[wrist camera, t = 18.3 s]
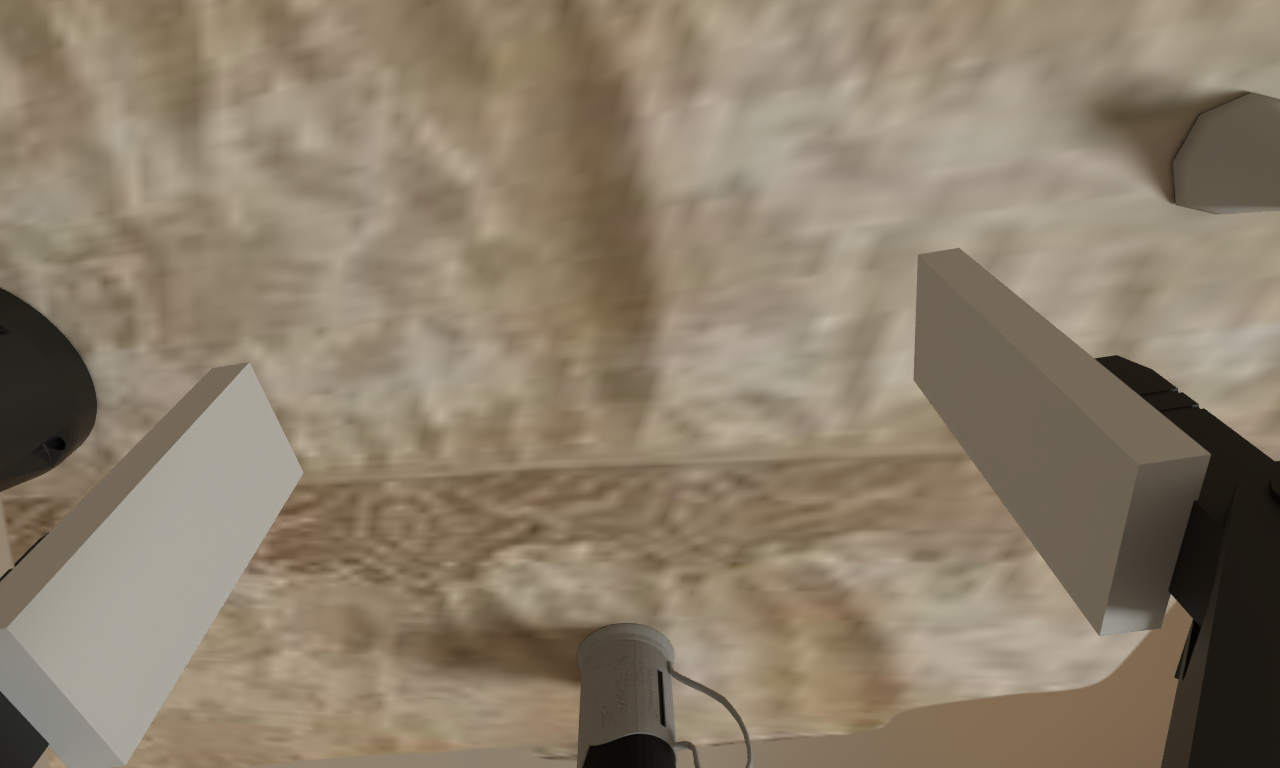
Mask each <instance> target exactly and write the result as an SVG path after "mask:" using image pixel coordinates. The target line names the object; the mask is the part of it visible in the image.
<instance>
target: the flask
mask: <svg viewBox="0 0 1280 768" xmlns="http://www.w3.org/2000/svg"><path fill="white" fill-rule="evenodd" d="M1173 174H1174V187H1175V199H1176V205H1178V206H1182V207H1187V208H1191V209H1195V210H1200V211H1204V212H1209V213H1213V214H1233V213H1247V212H1261V211H1280V100H1279V99H1275V98H1271V97H1267V96H1263V95H1259V94H1255V93H1250V94H1247V95H1245V96H1242V97H1240V98H1238V99H1235V100H1233V101H1231V102H1228V103H1226V104H1223V105H1221V106H1219V107H1216V108H1214V109H1212V110H1209V111H1207V112H1205V113H1202V114H1200V115H1199V117H1198V119H1197V121H1196V122H1195V124H1194V126H1193V128H1192V129H1191V131H1190V133H1189V135H1188V137H1187V138H1186V140H1185V142H1184V144H1183V145H1182V147H1181V149H1180V151H1179V152H1178V154H1177V156H1176V158H1175V159H1174V161H1173Z"/></svg>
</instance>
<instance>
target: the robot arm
mask: <svg viewBox="0 0 1280 768" xmlns="http://www.w3.org/2000/svg"><path fill="white" fill-rule="evenodd" d="M914 381H915V382H916V384H917V385H918V387H919V388H920V389H921V391H922V392H923V393H924V395H925V396H926V398H927V399H928V400H929V402H930V403H931V404H932V406H933V407H934V409H935V410H936V411H937V413H938V414H939V415H940V417H941V418H942V420H943V421H944V422H945V424H946V425H947V427H948V428H949V429H950V431H951V432H952V433H953V435H954V436H955V438H956V439H957V440H958V442H959V443H960V444H961V446H962V447H963V449H964V450H965V451H966V453H967V454H968V456H969V457H970V458H971V460H972V461H973V462H974V464H975V465H976V467H977V468H978V469H979V471H980V472H981V473H982V475H983V476H984V478H985V479H986V480H987V482H988V483H989V484H990V486H991V487H992V489H993V490H994V491H995V493H996V494H997V496H998V497H999V498H1000V500H1001V501H1002V502H1003V504H1004V505H1005V507H1006V508H1007V509H1008V511H1009V512H1010V513H1011V515H1012V516H1013V518H1014V519H1015V520H1016V522H1017V523H1018V525H1019V526H1020V527H1021V529H1022V530H1023V531H1024V533H1025V534H1026V536H1027V537H1028V538H1029V540H1030V541H1031V542H1032V544H1033V545H1034V547H1035V548H1036V549H1037V551H1038V552H1039V553H1040V555H1041V556H1042V558H1043V559H1044V560H1045V562H1046V563H1047V565H1048V566H1049V567H1050V569H1051V570H1052V571H1053V573H1054V574H1055V576H1056V577H1057V578H1058V580H1059V581H1060V582H1061V584H1062V585H1063V587H1064V588H1065V589H1066V591H1067V592H1068V593H1069V595H1070V596H1071V598H1072V599H1073V600H1074V602H1075V603H1076V605H1077V606H1078V607H1079V609H1080V610H1081V611H1082V613H1083V614H1084V616H1085V617H1086V618H1087V620H1088V621H1089V622H1090V624H1091V625H1092V627H1093V628H1094V629H1095V631H1096V632H1097V634H1098V635H1099V636H1105V635H1113V634H1120V633H1128V632H1135V631H1143V630H1151V629H1158V628H1161V625H1162V622H1163V618H1164V615H1165V612H1166V608H1167V605H1168V601H1169V598H1170V594H1172V595H1173V597H1174V598H1175V599H1176V600H1177V601H1178V602H1179V603H1180V604H1181V606H1182V607H1183V608H1184V609H1185V610H1186V611H1187V612H1188V613H1189V615H1190V616H1191V617H1192V618H1193V620H1192V624H1191V627H1190V630H1189V633H1188V636H1187V640H1186V642H1185V646H1184V649H1183V652H1182V655H1181V658H1180V661H1179V664H1178V668H1177V670H1176V674H1175V678H1177V679H1179V681H1178V686H1177V690H1176V695H1175V700H1174V705H1173V710H1172V715H1171V720H1170V725H1169V730H1168V735H1167V740H1166V745H1165V750H1164V755H1163V760H1162V765H1161V768H1280V461H1274V460H1272V459H1271V458H1270V457H1268V456H1267V455H1266V454H1264V453H1263V452H1262V451H1260V450H1259V449H1258V448H1256V447H1255V446H1254V445H1252V444H1251V443H1250V442H1248V441H1247V440H1246V439H1244V438H1243V437H1242V436H1240V435H1239V434H1238V433H1236V432H1235V431H1234V430H1232V429H1231V428H1230V427H1228V426H1227V425H1226V424H1224V423H1223V422H1222V421H1220V420H1219V419H1218V418H1216V417H1215V416H1214V415H1212V414H1211V413H1210V412H1208V411H1207V410H1206V409H1200V408H1199V404H1198V403H1196V402H1195V401H1194V400H1192V399H1191V398H1190V397H1188V396H1187V395H1186V394H1184V393H1183V392H1182V393H1178V388H1176V387H1175V386H1174V385H1172V384H1171V383H1170V382H1168V381H1167V380H1166V379H1164V378H1163V377H1162V376H1160V375H1159V374H1158V373H1156V372H1155V371H1154V370H1152V369H1150V368H1147V367H1145V366H1142V365H1140V364H1137V363H1135V362H1132V361H1130V360H1127V359H1125V358H1122V357H1120V356H1117V355H1115V356H1108V357H1102V358H1095V359H1094V358H1093V357H1092V356H1090V355H1089V354H1088V353H1087V352H1086V351H1084V350H1083V349H1082V348H1081V347H1079V346H1078V345H1077V344H1076V343H1075V342H1073V341H1072V340H1071V339H1070V338H1068V337H1067V336H1066V335H1065V334H1064V333H1062V332H1061V331H1060V330H1059V329H1057V328H1056V327H1055V326H1054V325H1053V324H1051V323H1050V322H1049V321H1048V320H1046V319H1045V318H1044V317H1043V316H1042V315H1040V314H1039V313H1038V312H1037V311H1035V310H1034V309H1033V308H1032V307H1031V306H1029V305H1028V304H1027V303H1026V302H1024V301H1023V300H1022V299H1021V298H1020V297H1018V296H1017V295H1016V294H1015V293H1013V292H1012V291H1011V290H1010V289H1009V288H1007V287H1006V286H1005V285H1004V284H1002V283H1001V282H1000V281H999V280H998V279H996V278H995V277H994V276H993V275H991V274H990V273H989V272H988V271H987V270H985V269H984V268H983V267H982V266H980V265H979V264H978V263H977V262H976V261H974V260H973V259H972V258H971V257H969V256H968V255H967V254H966V253H965V252H963V251H962V250H961V249H960V248H956V249H950V250H943V251H937V252H931V253H925V254H919V255H918V269H917V298H916V327H915V356H914ZM96 412H97V400H96V393H95V388H94V385H93V381H92V379H91V376H90V374H89V371H88V369H87V367H86V365H85V363H84V362H83V360H82V358H81V357H80V355H79V354H78V352H77V351H76V349H75V348H74V347H73V345H72V344H71V343H70V342H69V340H68V339H67V338H66V337H65V336H64V335H63V334H62V333H61V332H60V331H59V329H58V328H56V327H55V326H54V325H53V324H52V323H51V322H50V321H49V320H48V319H46V318H45V317H44V316H43V315H42V314H40V313H39V312H38V311H36V310H35V309H34V308H32V307H31V306H29V305H28V304H27V303H25V302H23V301H22V300H20V299H19V298H17V297H15V296H13V295H12V294H10V293H8V292H6V291H4V290H2V289H0V492H1V491H4V490H6V489H9V488H11V487H13V486H16V485H18V484H21V483H23V482H26V481H28V480H31V479H33V478H36V477H38V476H40V475H43V474H45V473H46V472H48V471H50V470H52V469H53V468H55V467H56V466H58V465H59V464H60V463H61V462H63V461H64V460H65V459H66V458H67V457H68V456H69V455H70V454H72V453H73V452H74V451H75V450H76V449H77V448H78V447H79V446H81V445H82V443H83V442H84V441H85V440H86V439H87V437H88V436H89V434H90V432H91V430H92V428H93V426H94V423H95V419H96ZM302 475H303V471H302V469H301V467H300V465H299V463H298V461H297V459H296V456H295V454H294V452H293V450H292V448H291V446H290V444H289V442H288V440H287V438H286V436H285V434H284V432H283V430H282V428H281V426H280V424H279V422H278V420H277V418H276V416H275V414H274V412H273V410H272V408H271V406H270V404H269V402H268V400H267V397H266V395H265V393H264V391H263V389H262V387H261V385H260V383H259V381H258V379H257V377H256V375H255V373H254V371H253V369H252V367H251V365H250V363H249V362H248V363H242V364H236V365H230V366H224V367H217V368H212V369H211V370H210V371H209V372H208V373H207V374H206V375H205V376H204V377H203V378H202V379H201V380H200V381H199V382H198V383H197V384H196V385H195V386H194V387H193V388H192V389H191V390H190V391H189V392H188V393H187V394H186V395H185V396H184V397H183V398H182V399H181V400H180V401H179V402H178V403H177V404H176V405H175V406H174V407H173V408H172V409H171V410H170V411H169V412H168V413H167V414H166V415H165V416H164V417H163V418H162V419H161V420H160V421H159V422H158V423H157V424H156V425H155V427H154V428H153V429H152V430H151V431H150V432H149V433H148V434H147V435H146V436H145V437H144V438H143V439H142V440H141V441H140V442H139V443H138V444H137V445H136V446H135V447H134V448H133V449H132V450H131V451H130V452H129V453H128V454H127V455H126V456H125V457H124V458H123V459H122V460H121V461H120V462H119V463H118V464H117V465H116V466H115V467H114V468H113V469H112V470H111V471H110V472H109V473H108V474H107V475H106V476H105V477H104V478H103V479H102V480H101V481H100V482H99V483H98V484H97V485H96V486H95V487H94V488H93V489H92V490H91V491H90V492H89V493H88V494H87V495H86V496H85V497H84V498H83V499H82V500H81V501H80V502H79V503H78V504H77V505H76V506H75V507H74V508H73V509H72V510H71V511H70V512H69V513H68V514H67V515H66V516H65V517H64V518H63V519H62V520H61V521H60V522H59V523H58V524H57V525H56V526H55V527H54V528H53V529H52V530H51V531H50V532H49V533H47V534H46V535H45V536H43V537H42V538H40V539H39V540H38V541H37V542H36V543H35V544H34V545H33V546H32V547H31V548H30V549H29V550H28V551H27V552H26V553H25V554H24V555H23V556H22V557H21V558H20V559H19V560H18V561H17V562H16V563H15V564H14V565H15V568H14V569H9V570H8V571H7V572H6V573H5V574H4V575H3V576H2V577H1V578H0V768H32V767H33V766H34V765H35V763H36V762H37V760H38V759H39V758H40V756H41V755H42V754H43V752H44V751H45V749H46V748H47V747H49V748H50V749H51V750H52V751H53V752H54V753H55V754H56V755H57V756H58V757H59V758H60V759H61V760H62V762H63V763H64V764H65V765H66V766H67V767H68V768H111V767H118V766H126V764H127V762H128V761H129V759H130V757H131V756H132V754H133V752H134V751H135V749H136V748H137V746H138V744H139V743H140V741H141V739H142V738H143V736H144V734H145V733H146V731H147V729H148V728H149V726H150V725H151V723H152V721H153V720H154V718H155V716H156V715H157V713H158V711H159V710H160V708H161V706H162V705H163V703H164V701H165V700H166V698H167V697H168V695H169V693H170V692H171V690H172V688H173V687H174V685H175V683H176V682H177V680H178V678H179V677H180V675H181V674H182V672H183V670H184V669H185V667H186V665H187V664H188V662H189V660H190V659H191V657H192V655H193V654H194V652H195V651H196V649H197V647H198V646H199V644H200V642H201V641H202V639H203V637H204V636H205V634H206V632H207V631H208V629H209V627H210V626H211V624H212V623H213V621H214V619H215V618H216V616H217V614H218V613H219V611H220V609H221V608H222V606H223V604H224V603H225V601H226V600H227V598H228V596H229V595H230V593H231V591H232V590H233V588H234V586H235V585H236V583H237V581H238V580H239V578H240V577H241V575H242V573H243V572H244V570H245V568H246V567H247V565H248V563H249V562H250V560H251V558H252V557H253V555H254V553H255V552H256V550H257V549H258V547H259V545H260V544H261V542H262V540H263V539H264V537H265V535H266V534H267V532H268V530H269V529H270V527H271V526H272V524H273V522H274V521H275V519H276V517H277V516H278V514H279V512H280V511H281V509H282V507H283V506H284V504H285V503H286V501H287V499H288V498H289V496H290V494H291V493H292V491H293V489H294V488H295V486H296V484H297V483H298V481H299V479H300V478H301V476H302Z"/></svg>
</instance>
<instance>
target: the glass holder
mask: <svg viewBox="0 0 1280 768" xmlns="http://www.w3.org/2000/svg"><path fill="white" fill-rule="evenodd" d="M577 661H578V666H579V668H580V670H581V693H580V714H579V735H578V755H577V768H676V765H677V751H678V750H682V749H691V750H692V751H693V756H694V764H695V768H701V765H700V759H699V755H698V751H697V749H696V747H695V746H694V745H693V744H692V743H690V742H687V741H681V742H676V735H675V722H674V709H673V696H672V683H671V675H672V676H673V677H674V678H675V679H677V680H679V681H680V682H682V683H684V684H686V685H688V686H690V687H692V688H694V689H697V690H699V691H701V692H703V693H705V694H707V695H709V696H711V697H712V698H714V699H716V700H717V701H719V702H720V703H722V704H723V705H724V706H725V707H726V708H727V709H728V711H729V712H730V713H731V714H732V715H733V717H734V718H735V719H736V721H737V722H738V724H739V726H740V728H741V730H742V732H743V735H744V739H745V743H746V746H747V754H748V762H747V765H746V768H753V750H752V746H751V742H750V738H749V734H748V732H747V730H746V728H745V725H744V723H743V721H742V719H741V717H740V716H739V714H738V713H737V712H736V710H735V709H734V707H733V706H732V705H731V704H730V703H729V702H728V701H727V699H726V698H725V697H723V696H722V695H720V694H718V693H717V692H715V691H713V690H711V689H709V688H707V687H705V686H704V685H702V684H700V683H697V682H695V681H693V680H691V679H689V678H686V677H684V676H682V675H680V674H679V673H677V672H675V671H674V670H673V663H674V649H673V646H672V644H671V643H670V641H669V640H668V639H667V638H666V637H665V636H664V635H663V634H662V633H660V632H659V631H657V630H655V629H653V628H651V627H648V626H645V625H640V624H632V623H622V624H614V625H609V626H606V627H603V628H601V629H599V630H597V631H594V632H593V633H592V634H590V635H589V636H588V637H587V638H586V639H585V640H584V641H583V642H582V644H581V645H580V647H579V650H578V653H577Z"/></svg>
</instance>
